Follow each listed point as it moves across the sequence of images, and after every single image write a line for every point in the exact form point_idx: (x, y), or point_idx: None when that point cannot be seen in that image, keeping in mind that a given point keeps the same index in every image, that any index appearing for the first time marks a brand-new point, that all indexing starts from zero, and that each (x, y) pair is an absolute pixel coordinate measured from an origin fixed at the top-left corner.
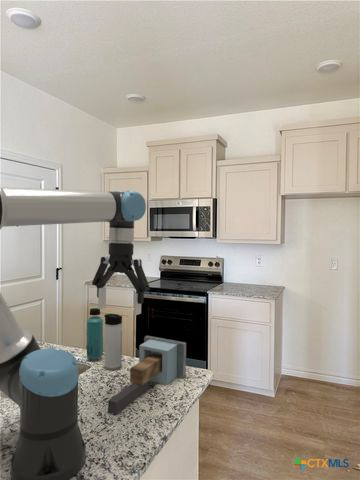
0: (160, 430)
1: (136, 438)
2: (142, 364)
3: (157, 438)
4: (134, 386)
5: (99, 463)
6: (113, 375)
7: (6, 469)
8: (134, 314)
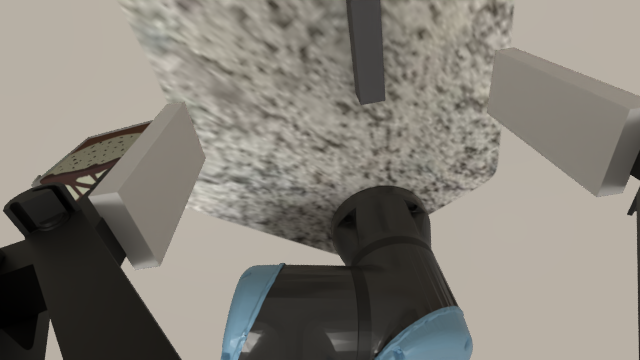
0: None
1: (461, 119)
2: None
3: None
4: (370, 2)
5: (439, 188)
6: None
7: None
8: (493, 112)
